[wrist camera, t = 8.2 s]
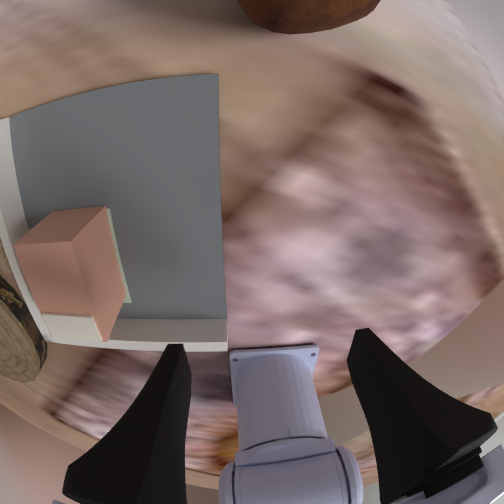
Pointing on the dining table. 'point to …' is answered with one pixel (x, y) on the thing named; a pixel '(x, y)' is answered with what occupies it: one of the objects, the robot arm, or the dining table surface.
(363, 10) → the wooden figurine
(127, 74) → the dining table surface
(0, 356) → the wooden log slice
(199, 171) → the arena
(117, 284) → the terracotta block
